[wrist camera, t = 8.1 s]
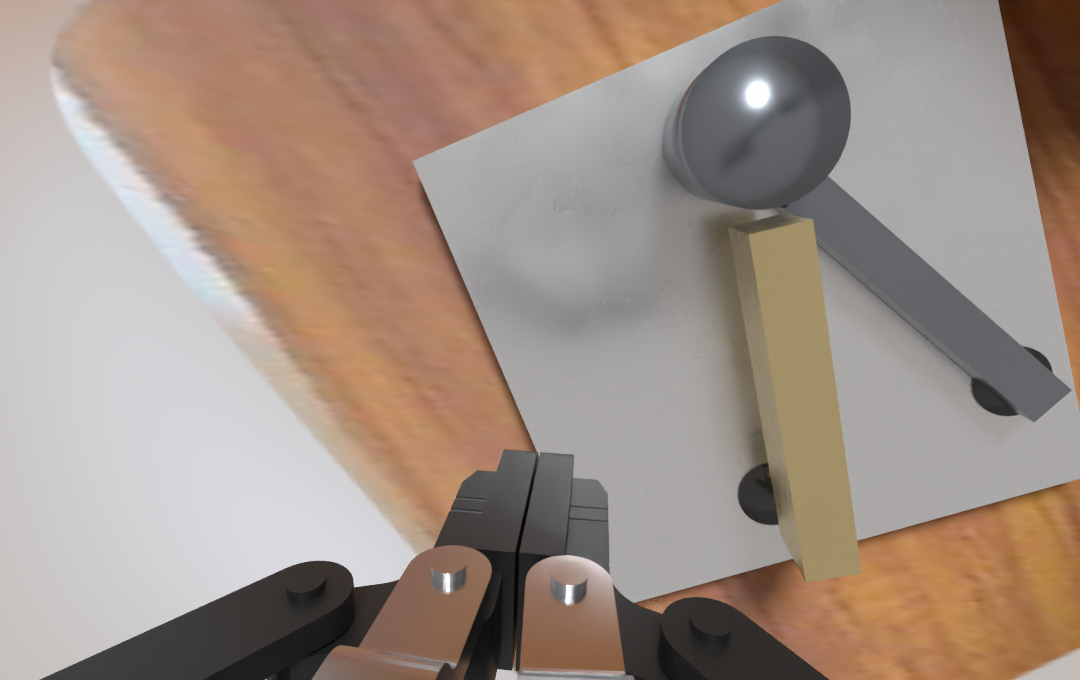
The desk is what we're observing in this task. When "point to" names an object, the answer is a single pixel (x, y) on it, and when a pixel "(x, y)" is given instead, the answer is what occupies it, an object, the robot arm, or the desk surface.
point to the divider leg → (796, 391)
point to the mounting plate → (711, 285)
